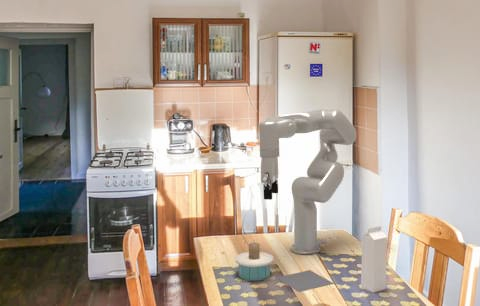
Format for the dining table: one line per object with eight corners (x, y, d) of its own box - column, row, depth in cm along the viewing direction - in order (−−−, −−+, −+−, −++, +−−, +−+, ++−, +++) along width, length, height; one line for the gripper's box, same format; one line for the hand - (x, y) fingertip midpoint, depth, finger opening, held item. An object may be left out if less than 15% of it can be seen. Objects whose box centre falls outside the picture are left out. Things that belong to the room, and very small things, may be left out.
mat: (310, 271, 195) (310, 270, 195) (334, 284, 182) (334, 283, 182) (276, 278, 189) (276, 277, 189) (298, 293, 175) (298, 291, 175)
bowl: (260, 268, 200) (260, 253, 199) (275, 277, 189) (275, 262, 189) (233, 273, 194) (233, 258, 194) (247, 283, 184) (247, 267, 183)
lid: (261, 251, 200) (261, 236, 200) (280, 262, 188) (280, 246, 187) (229, 257, 194) (228, 242, 193) (246, 269, 182) (246, 253, 181)
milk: (386, 290, 177) (388, 228, 174) (372, 294, 174) (374, 230, 171) (373, 284, 182) (375, 223, 179) (360, 287, 179) (361, 226, 176)
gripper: (265, 149, 208) (267, 190, 210) (254, 156, 191) (256, 201, 194) (284, 149, 205) (285, 191, 208) (273, 157, 189) (275, 202, 192)
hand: (271, 196), depth 201 cm, fingers open, 9 cm apart
